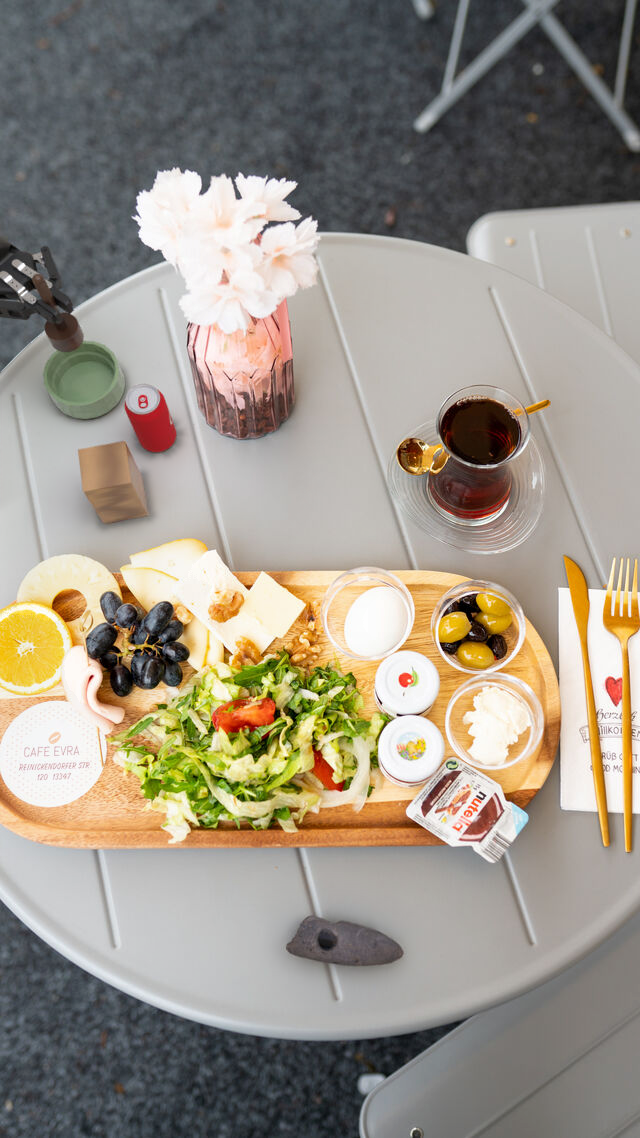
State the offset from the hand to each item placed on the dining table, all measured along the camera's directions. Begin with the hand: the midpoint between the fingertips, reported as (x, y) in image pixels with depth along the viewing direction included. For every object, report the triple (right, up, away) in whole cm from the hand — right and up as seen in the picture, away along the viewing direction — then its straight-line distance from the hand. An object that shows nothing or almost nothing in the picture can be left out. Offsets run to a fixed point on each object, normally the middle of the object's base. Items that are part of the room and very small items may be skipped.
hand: (64, 313), depth 116 cm
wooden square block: (+5, -25, +15) cm, 29 cm away
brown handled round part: (-2, -1, +9) cm, 9 cm away
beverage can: (+10, -15, +19) cm, 25 cm away
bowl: (-3, -6, +22) cm, 23 cm away
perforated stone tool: (+39, -85, -7) cm, 94 cm away
